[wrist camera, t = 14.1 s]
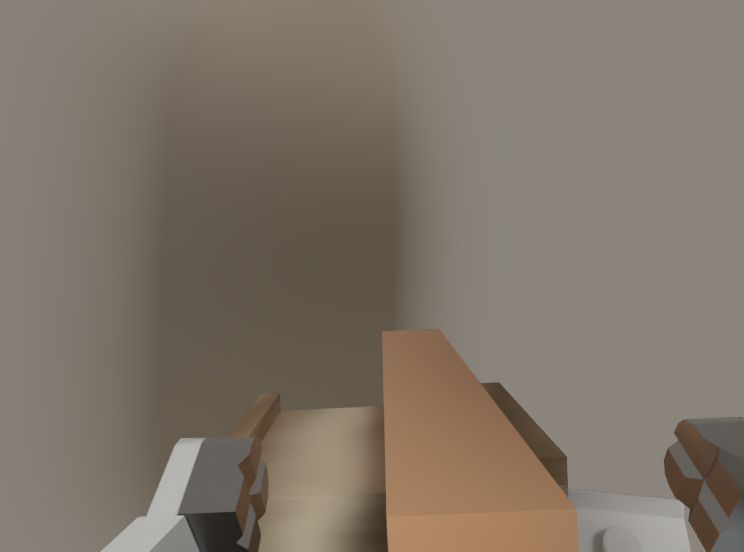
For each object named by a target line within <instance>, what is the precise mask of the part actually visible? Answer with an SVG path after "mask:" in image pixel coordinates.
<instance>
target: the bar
mask: <svg viewBox="0 0 744 552" xmlns="http://www.w3.org/2000/svg"><path fill="white" fill-rule="evenodd" d="M382 337H383V379H384V381H383V382H384V383H383V385H384V430H385V476H386V519H387V538H388V552H578V541H577V513H576V508H575V506H574V505H573V504H572V502H571V501H570V500H569V498H568V497H567V496H566V495H565V493H564V492H563V491H562V489H561V488H560V487H559V485H558V484H557V483H556V481H555V480H554V479H553V478H552V476H551V475H550V474H549V472H548V471H547V470H546V468H545V467H544V466H543V464H542V463H541V462H540V461H539V459H538V458H537V457H536V455H535V454H534V453H533V451H532V450H531V449H530V447H529V446H528V445H527V444H526V442H525V441H524V440H523V438H522V437H521V436H520V434H519V433H518V432H517V430H516V429H515V428H514V427H513V425H512V424H511V423H510V421H509V420H508V419H507V417H506V416H505V415H504V413H503V412H502V411H501V409H500V408H499V407H498V406H497V404H496V403H495V402H494V400H493V399H492V398H491V396H490V395H489V394H488V392H487V391H486V390H485V389H484V387H483V386H482V385H481V383H480V382H479V381H478V379H477V378H476V377H475V375H474V374H473V373H472V372H471V370H470V369H469V368H468V366H467V365H466V364H465V362H464V361H463V360H462V358H461V357H460V356H459V355H458V353H457V352H456V351H455V349H454V348H453V347H452V346H451V344H450V343H449V342H448V340H447V339H446V338H445V336H444V335H443V334H442V332H441V331H440V330H439V329H423V330H402V331H384V332H382Z"/></svg>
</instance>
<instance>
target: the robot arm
mask: <svg viewBox="0 0 744 552" xmlns="http://www.w3.org/2000/svg"><path fill="white" fill-rule="evenodd" d="M674 434H675V435H676V437H677V438H678V440H679V441H677V442H676V443H675V444H673V445H672V446H670V447H669V448H668V450H667V453H666V456H665V459H664V466H665V475H666V478H667V481H668V484H669V486H670V488H671V490H672V492H673V494H674V496H675V497H676V499H678V500H679V501H680V502H682V503H683V504H685V505H686V506H687V507H689V508H690V514H689V520H688V521H689V522H690V524H691V526H692V527H693V529H694V531H695V533H696V534H697V536H698V538H699V539H700V541H701V543H702V545H703V547H704V548H705V550H706V552H744V417H737V418H735V417H723V418H704V419H685V420H682V421H681V422H680V423H678V425H677V427H676V429H675V432H674ZM261 451H262V447H261V443H260V440H259V437H221V438H183V439H182V438H181V439H180V440H179V441H178V443H177V444H176V445H175V446H174V448H173V451H172V454H171V456H170V459H169V461H168V463H167V466H166V468H165V471H164V473H163V476H162V478H161V481H160V483H159V486H158V489H157V491H156V493H155V496H154V498H153V501H152V503H151V505H150V508H149V511H148V513H147V515H146V516H144V517H138V518H136V519H135V521H133V522H132V523H131V524H130V525H129V526H128V527H127V528H126V529H125V530H123V531H122V532H121V533H120V534H119V535H118V536H117V537H116V538H115V539H114V540H113V541H112V542H110V543H109V544H108V545H107V546H106V547H105V548H104V549H103V550H102V551H101V552H258V550H259V545H260V539H261V531H260V528H259V524H258V520H259V519H260V518H261V517H262V516H263V515H264V514H265V513H266V507H267V501H268V490H269V479H268V470H267V466H266V463H265V462H263V461H262V460H261V459H260V456H261Z"/></svg>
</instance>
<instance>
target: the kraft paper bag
mask: <svg viewBox="0 0 744 552" xmlns="http://www.w3.org/2000/svg"><path fill="white" fill-rule="evenodd" d="M481 385H482V386H483V387H484V389H485V390H486V391H487V392H488V394H489V395H490V396H491V398H492V399H493V400H494V402H495V403H496V404H497V406H498V407H499V408H500V409H501V411H502V412H503V413H504V415H505V416H506V417H507V419H508V420H509V421H510V423H511V424H512V425H513V427H514V428H515V429H516V430H517V432H518V433H519V434H520V436H521V437H522V438H523V440H524V441H525V442H526V444H527V445H528V446H529V447H530V449H531V450H532V451H533V453H534V454H535V455H536V457H537V458H538V459H539V461H540V462H541V463H542V464H543V466H544V467H545V468H546V470H547V471H548V472H549V474H550V475H551V476H552V478H553V479H554V480H555V481H556V483H557V484H558V485H559V487H560V488H561V489H562V491H563V492H564V493H565V495H566V496H567V497H568V482H567V481H568V480H567V457H566V456H565V454H564V453H563V452H562V451H561V450H560V449H559V448H558V447H557V446H556V445H555V443H554V442H553V441H552V440H551V439H550V438H549V437H548V436H547V435H546V434H545V432H544V431H543V430H542V429H541V428H540V427H539V426H538V425H537V424H536V423H535V422H534V420H533V419H532V418H531V417H530V416H529V415H528V414H527V413H526V412H525V411H524V409H523V408H522V407H521V406H520V405H519V404H518V403H517V402H516V401H515V400H514V398H513V397H512V396H511V395H510V394H509V393H508V392H507V391H506V390H505V389H504V388H503V386H502V385H501V384H500V383H481ZM226 437H259V440H260V443H261V447H262V451H261V456H260V459H261V460H262V461H263V462H265V463H266V466H267V470H268V479H269V490H268V501H267V507H266V513H265V514H264V515H263V516H262V517H261V518H260V519H259V520H258V524H259V528H260V531H261V539H260V545H259V550H258V552H388V538H387V519H386V476H385V430H384V406H376V407H355V408H335V409H314V410H291V411H281V408H280V394H279V393H270V394H261V395H260V396H259V397H258V399H257V400H256V401H255V402H254V403H253V405H252V406H251V407H250V408H249V410H248V411H247V412H246V413H245V414H244V415H243V416H242V418H241V419H240V420H239V421H238V423H237V424H236V425H235V426H234V427H233V428H232V430H231V431H230V432H229V433H228V434H227V436H226Z"/></svg>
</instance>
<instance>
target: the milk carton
mask: <svg viewBox="0 0 744 552" xmlns="http://www.w3.org/2000/svg"><path fill="white" fill-rule="evenodd" d="M568 498H569V500H570V501H571V502H572V504H573V505H574V506H575V508H576V513H577V541H578V552H691V549H690V544H689V539H688V535H687V529H686V524H685V519H684V504H683V503H682V502H680V501H679V500H676V499H665V498H655V497H646V496H635V495H626V494H615V493H606V492H605V493H604V492H596V491H586V490H575V489H568Z"/></svg>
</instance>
